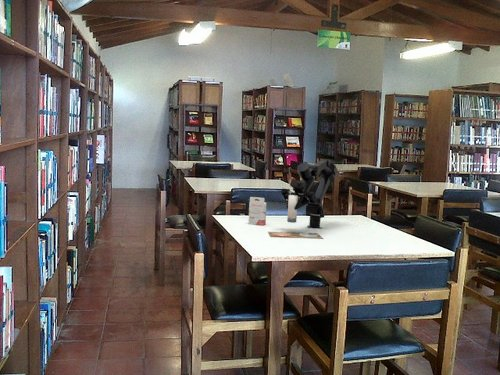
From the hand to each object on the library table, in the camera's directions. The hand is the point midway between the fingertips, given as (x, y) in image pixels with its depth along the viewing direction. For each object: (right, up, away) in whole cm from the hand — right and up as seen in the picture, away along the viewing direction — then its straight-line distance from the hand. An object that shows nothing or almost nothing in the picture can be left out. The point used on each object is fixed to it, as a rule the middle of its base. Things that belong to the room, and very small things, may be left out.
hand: (290, 208), depth 248 cm
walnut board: (+2, -13, -3) cm, 14 cm away
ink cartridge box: (-16, -10, +26) cm, 32 cm away
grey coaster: (+8, -13, -2) cm, 15 cm away
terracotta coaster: (-5, -12, -4) cm, 14 cm away
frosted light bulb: (+1, -6, +2) cm, 7 cm away
